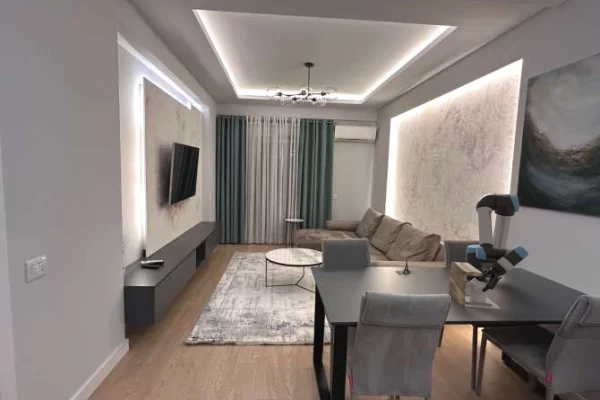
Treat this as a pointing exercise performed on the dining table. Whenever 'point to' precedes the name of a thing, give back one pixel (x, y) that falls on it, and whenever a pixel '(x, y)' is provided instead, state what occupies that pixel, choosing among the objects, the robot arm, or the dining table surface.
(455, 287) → the overhang shelf
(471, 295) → the mug
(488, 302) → the seat plate
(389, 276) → the dining table surface
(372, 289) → the dining table surface
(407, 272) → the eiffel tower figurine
